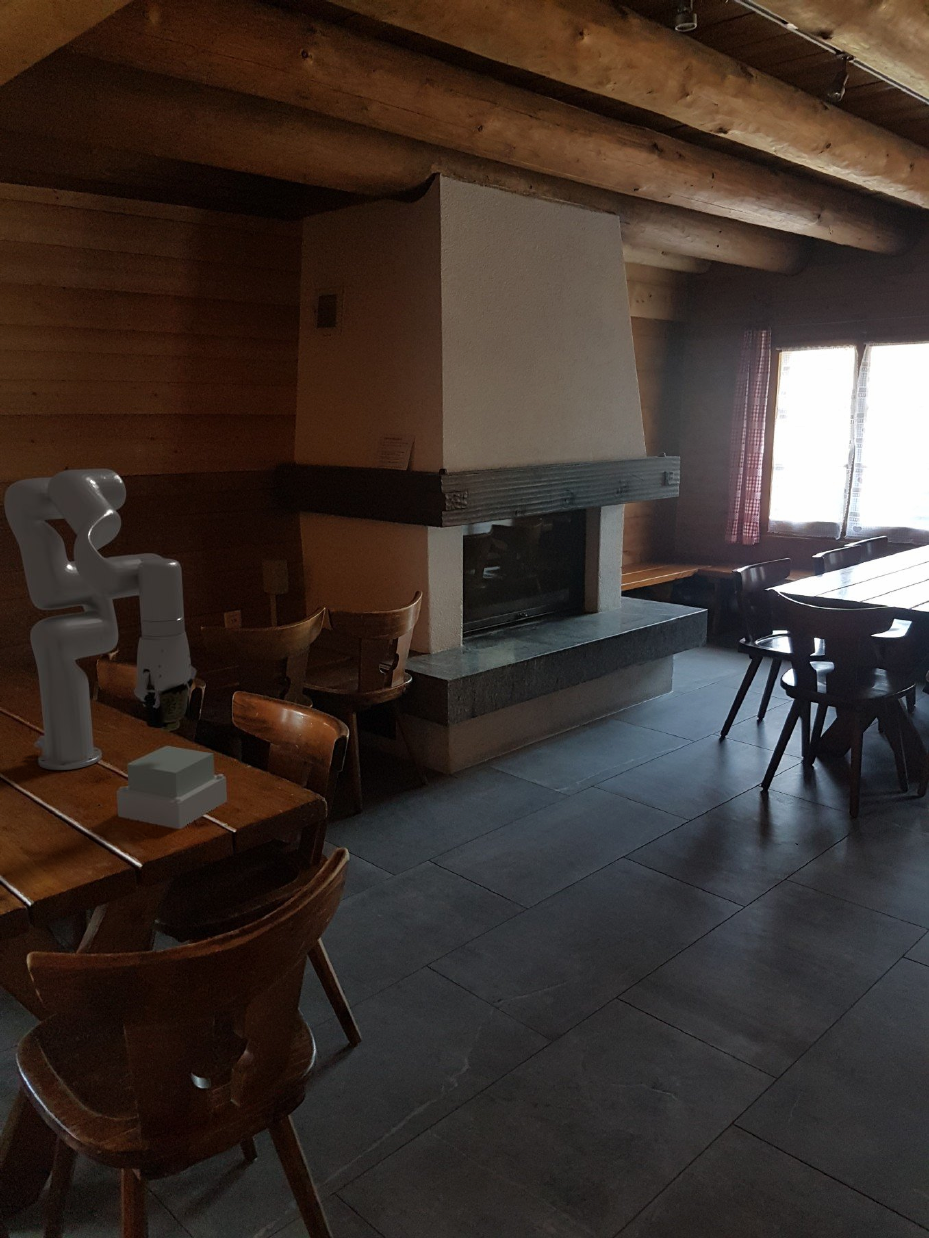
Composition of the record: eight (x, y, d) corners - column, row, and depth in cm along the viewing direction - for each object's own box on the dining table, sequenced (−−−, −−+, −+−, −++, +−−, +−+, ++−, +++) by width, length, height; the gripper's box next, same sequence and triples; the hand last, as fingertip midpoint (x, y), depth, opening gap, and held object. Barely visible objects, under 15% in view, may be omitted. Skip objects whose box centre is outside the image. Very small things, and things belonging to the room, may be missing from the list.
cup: (198, 725, 184) (196, 684, 182) (174, 736, 177) (172, 694, 175) (164, 720, 186) (162, 680, 184) (139, 732, 179) (137, 690, 178)
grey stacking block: (118, 816, 181) (114, 765, 179) (168, 790, 194) (165, 742, 192) (179, 829, 176) (176, 776, 174) (226, 801, 189) (224, 752, 186)
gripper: (177, 616, 187) (182, 706, 190) (112, 635, 171) (119, 732, 175) (209, 620, 184) (214, 710, 188) (147, 639, 168) (153, 737, 172)
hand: (168, 720), depth 181 cm, fingers closed on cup, 6 cm apart
